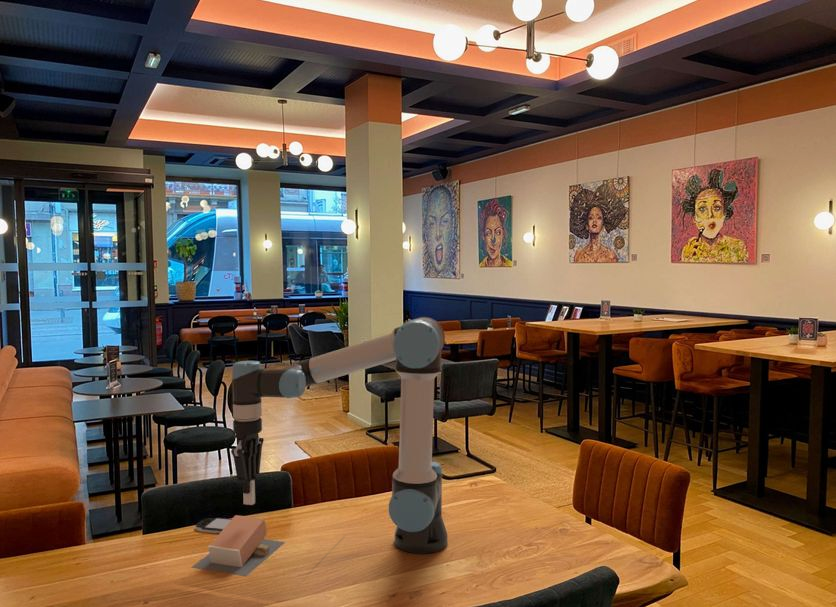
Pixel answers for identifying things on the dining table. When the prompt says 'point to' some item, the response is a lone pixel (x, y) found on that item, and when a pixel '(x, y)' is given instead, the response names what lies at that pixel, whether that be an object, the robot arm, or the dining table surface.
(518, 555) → the dining table surface
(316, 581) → the dining table surface
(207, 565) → the mat
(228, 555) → the block
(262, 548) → the bar
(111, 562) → the dining table surface
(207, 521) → the gaming console
